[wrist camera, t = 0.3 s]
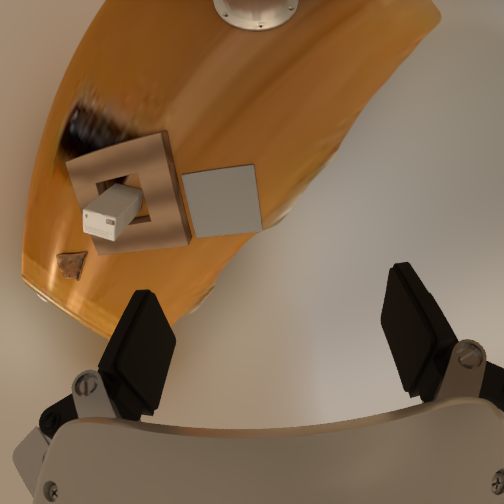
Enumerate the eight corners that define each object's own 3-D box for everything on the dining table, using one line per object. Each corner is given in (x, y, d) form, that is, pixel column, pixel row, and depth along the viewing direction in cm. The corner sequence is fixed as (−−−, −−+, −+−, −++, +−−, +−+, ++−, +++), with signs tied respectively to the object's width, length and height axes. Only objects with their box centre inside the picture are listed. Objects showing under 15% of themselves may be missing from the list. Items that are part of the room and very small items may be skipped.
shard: (89, 249, 54) (85, 254, 52) (100, 277, 58) (97, 282, 56) (57, 252, 55) (53, 256, 53) (69, 277, 59) (66, 282, 57)
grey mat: (182, 174, 44) (181, 175, 44) (253, 164, 43) (253, 165, 43) (197, 236, 51) (196, 237, 50) (262, 229, 49) (262, 231, 49)
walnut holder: (74, 157, 42) (65, 162, 40) (166, 130, 40) (160, 132, 38) (105, 247, 53) (98, 255, 50) (191, 237, 51) (188, 245, 48)
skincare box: (114, 202, 47) (81, 234, 37) (116, 180, 45) (80, 208, 35) (142, 210, 48) (114, 244, 38) (145, 188, 46) (115, 218, 35)
